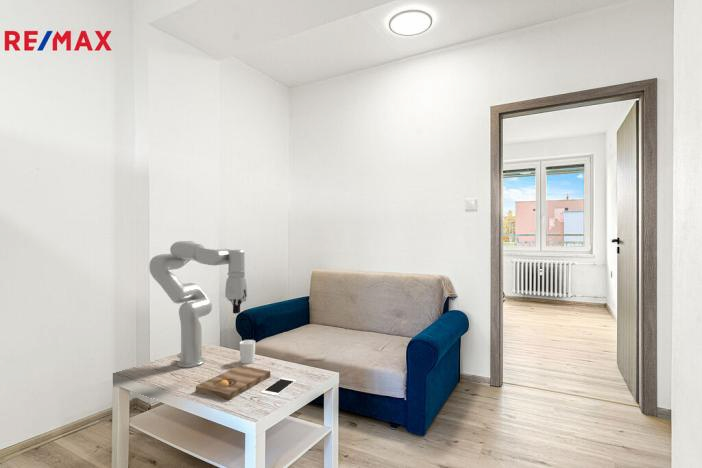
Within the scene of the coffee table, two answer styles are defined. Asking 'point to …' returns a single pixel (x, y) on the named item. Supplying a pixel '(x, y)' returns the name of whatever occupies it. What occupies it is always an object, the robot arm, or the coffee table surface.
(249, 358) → the white cup
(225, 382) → the ball
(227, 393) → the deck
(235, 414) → the coffee table surface
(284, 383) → the cell phone
